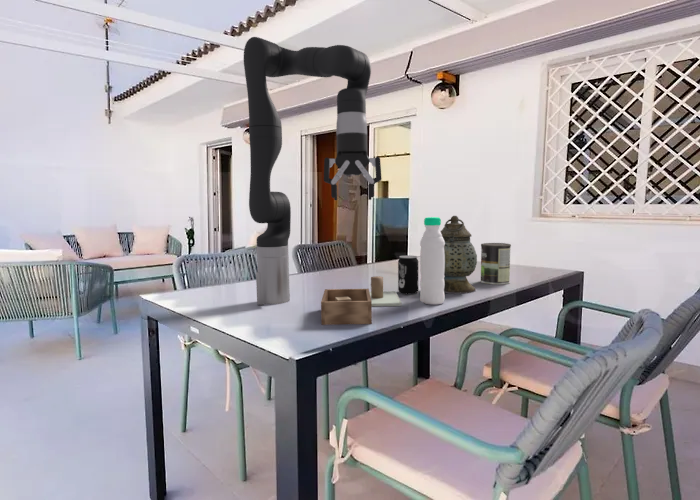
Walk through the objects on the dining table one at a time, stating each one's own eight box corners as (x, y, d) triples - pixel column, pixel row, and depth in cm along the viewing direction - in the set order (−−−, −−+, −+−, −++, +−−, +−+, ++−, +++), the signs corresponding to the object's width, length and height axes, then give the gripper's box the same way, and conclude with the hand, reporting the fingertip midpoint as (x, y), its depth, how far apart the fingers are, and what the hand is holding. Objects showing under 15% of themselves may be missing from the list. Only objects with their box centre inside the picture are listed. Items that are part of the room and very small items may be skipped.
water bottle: (439, 306, 120) (439, 217, 118) (416, 303, 124) (416, 217, 122) (447, 301, 126) (448, 216, 124) (425, 298, 130) (425, 217, 128)
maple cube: (338, 313, 112) (338, 300, 111) (335, 310, 115) (334, 297, 115) (351, 312, 113) (351, 299, 112) (348, 309, 116) (347, 296, 116)
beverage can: (417, 294, 136) (417, 257, 135) (397, 294, 138) (397, 257, 136) (418, 290, 143) (418, 255, 142) (399, 290, 144) (399, 255, 143)
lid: (356, 310, 119) (356, 282, 118) (355, 297, 136) (355, 273, 135) (401, 309, 119) (401, 281, 118) (395, 296, 136) (395, 272, 135)
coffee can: (482, 284, 152) (483, 245, 150) (478, 279, 162) (478, 242, 160) (513, 285, 150) (514, 245, 149) (506, 280, 160) (507, 242, 159)
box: (321, 327, 101) (320, 302, 101) (325, 310, 117) (324, 289, 117) (371, 326, 101) (371, 301, 101) (368, 310, 117) (368, 288, 117)
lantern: (485, 290, 141) (486, 215, 139) (456, 296, 133) (456, 216, 131) (453, 284, 153) (453, 214, 150) (424, 289, 145) (424, 215, 142)
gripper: (321, 131, 101) (323, 200, 103) (381, 130, 101) (382, 199, 103) (323, 136, 108) (325, 200, 110) (379, 135, 108) (380, 199, 110)
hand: (352, 199), depth 106 cm, fingers open, 8 cm apart
